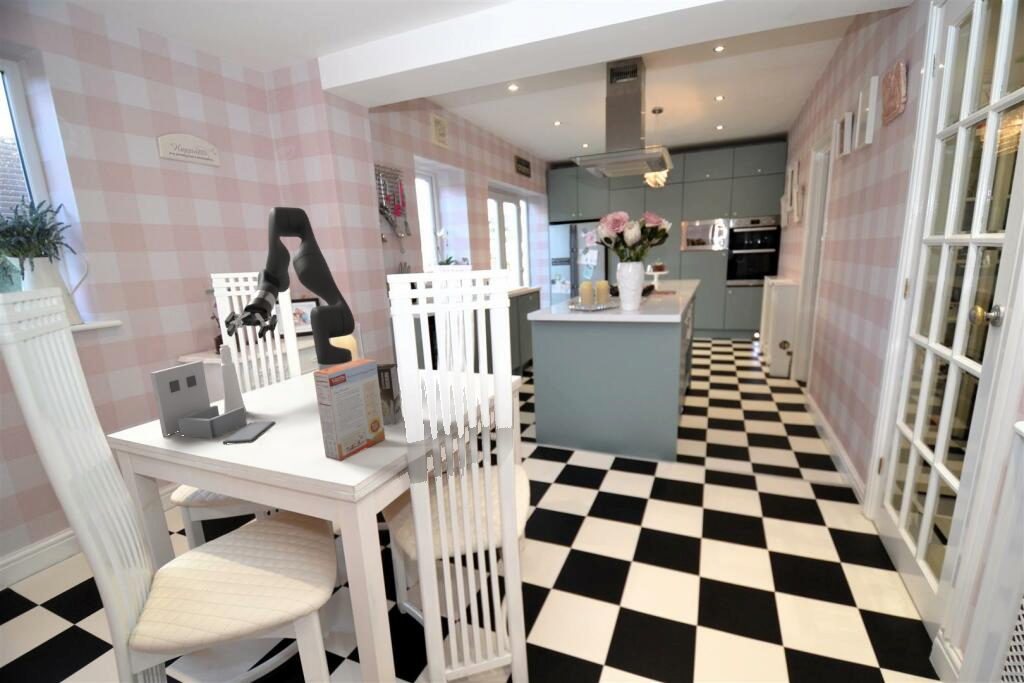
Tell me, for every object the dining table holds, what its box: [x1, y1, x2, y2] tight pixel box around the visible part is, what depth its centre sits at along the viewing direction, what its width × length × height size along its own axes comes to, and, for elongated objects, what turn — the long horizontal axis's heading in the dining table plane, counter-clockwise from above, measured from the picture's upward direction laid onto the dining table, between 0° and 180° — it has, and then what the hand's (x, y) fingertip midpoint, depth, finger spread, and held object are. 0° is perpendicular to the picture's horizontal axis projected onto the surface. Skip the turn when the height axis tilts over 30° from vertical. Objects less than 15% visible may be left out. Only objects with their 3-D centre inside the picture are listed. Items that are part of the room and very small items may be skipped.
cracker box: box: [313, 358, 386, 461], centre depth 108 cm, size 14×6×21 cm, turn 149°
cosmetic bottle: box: [219, 343, 247, 414], centre depth 139 cm, size 6×6×22 cm
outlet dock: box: [150, 360, 248, 439], centre depth 127 cm, size 17×14×18 cm
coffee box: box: [376, 363, 403, 426], centre depth 126 cm, size 9×6×16 cm
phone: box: [222, 420, 276, 445], centre depth 124 cm, size 7×14×1 cm, turn 5°
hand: (244, 335), depth 141 cm, fingers open, 8 cm apart
